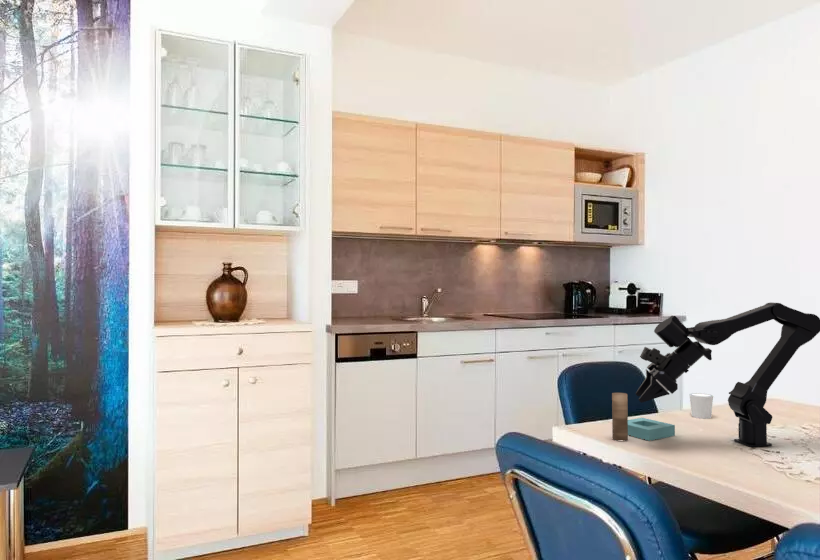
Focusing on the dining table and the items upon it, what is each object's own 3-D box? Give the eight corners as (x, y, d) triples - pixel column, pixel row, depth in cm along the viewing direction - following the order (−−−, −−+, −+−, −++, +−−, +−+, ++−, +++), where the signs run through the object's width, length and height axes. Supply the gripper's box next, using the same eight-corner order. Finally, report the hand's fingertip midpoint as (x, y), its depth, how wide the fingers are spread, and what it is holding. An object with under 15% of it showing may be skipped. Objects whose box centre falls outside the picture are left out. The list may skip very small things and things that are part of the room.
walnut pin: (630, 440, 163) (630, 394, 163) (617, 441, 162) (616, 395, 162) (623, 437, 167) (622, 392, 167) (609, 437, 166) (609, 392, 166)
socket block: (674, 435, 168) (674, 424, 168) (648, 440, 163) (648, 429, 163) (642, 427, 178) (642, 417, 178) (616, 432, 172) (616, 422, 172)
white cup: (689, 417, 191) (688, 395, 191) (690, 413, 197) (690, 392, 197) (713, 419, 187) (713, 397, 187) (713, 415, 193) (713, 393, 194)
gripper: (654, 334, 171) (614, 371, 174) (663, 340, 153) (618, 381, 156) (685, 363, 169) (643, 400, 172) (697, 372, 151) (650, 413, 154)
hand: (638, 398), depth 163 cm, fingers open, 9 cm apart
